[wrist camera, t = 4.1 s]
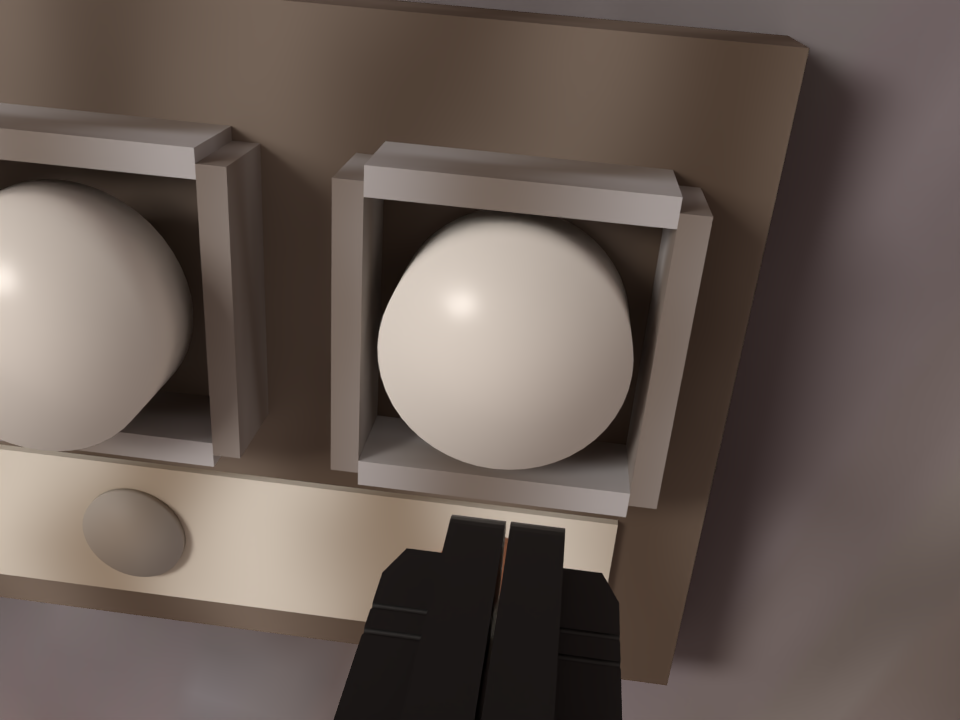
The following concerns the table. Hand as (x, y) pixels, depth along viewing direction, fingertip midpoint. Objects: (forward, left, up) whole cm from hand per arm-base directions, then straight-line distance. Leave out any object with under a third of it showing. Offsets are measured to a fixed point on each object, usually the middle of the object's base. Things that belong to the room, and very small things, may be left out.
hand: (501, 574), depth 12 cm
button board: (+9, +2, -11) cm, 14 cm away
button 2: (0, 0, -8) cm, 8 cm away
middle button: (+9, 0, -7) cm, 12 cm away
